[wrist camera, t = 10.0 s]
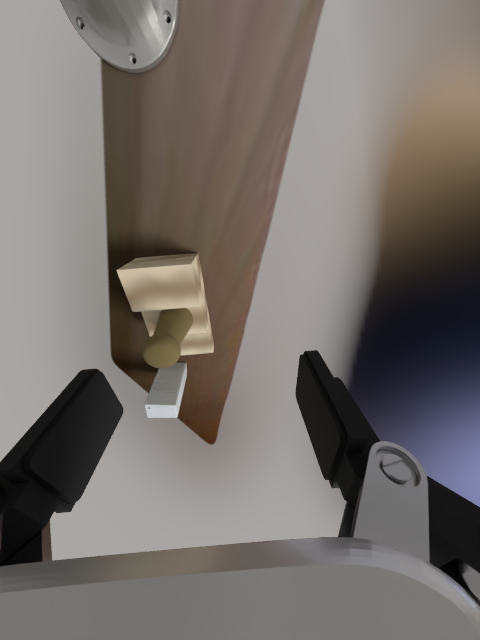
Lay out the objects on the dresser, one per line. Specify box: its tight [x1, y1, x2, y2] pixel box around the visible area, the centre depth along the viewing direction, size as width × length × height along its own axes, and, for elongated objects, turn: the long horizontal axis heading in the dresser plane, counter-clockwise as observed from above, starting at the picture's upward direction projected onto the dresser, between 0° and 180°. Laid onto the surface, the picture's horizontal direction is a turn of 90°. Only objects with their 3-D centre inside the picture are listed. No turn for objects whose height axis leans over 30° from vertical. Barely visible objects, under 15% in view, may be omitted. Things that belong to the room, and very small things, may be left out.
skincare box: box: [144, 362, 187, 418], centre depth 44 cm, size 6×4×12 cm
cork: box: [142, 308, 193, 369], centre depth 32 cm, size 6×6×11 cm
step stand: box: [116, 253, 214, 355], centre depth 38 cm, size 21×11×8 cm, turn 4°
